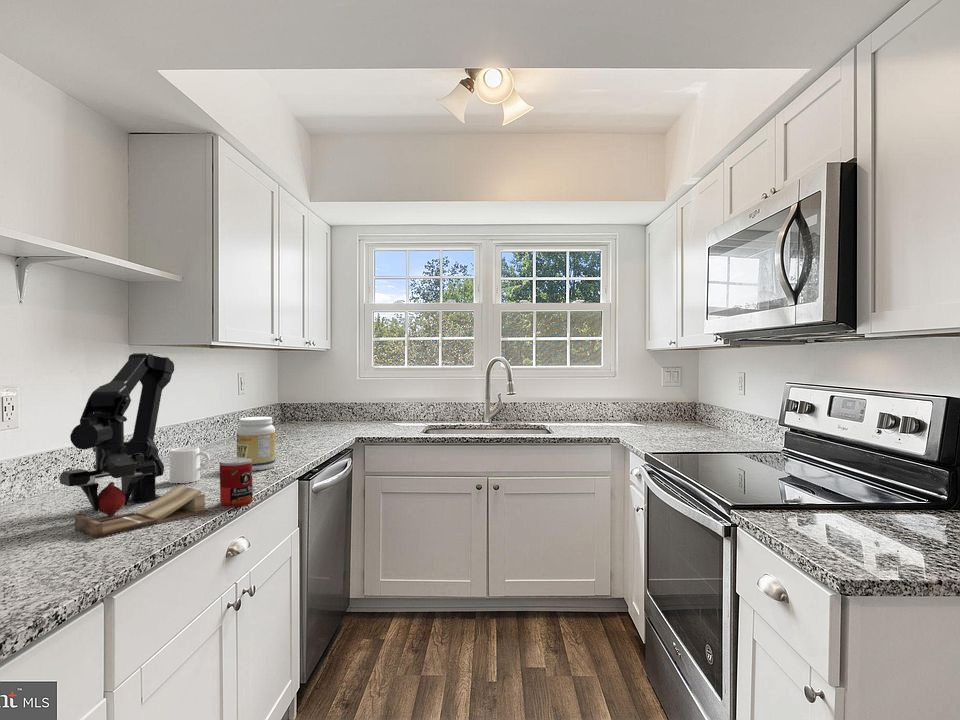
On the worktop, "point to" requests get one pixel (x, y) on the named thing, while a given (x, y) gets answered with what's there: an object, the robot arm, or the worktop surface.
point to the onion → (111, 499)
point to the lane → (124, 522)
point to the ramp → (174, 502)
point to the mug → (186, 464)
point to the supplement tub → (257, 442)
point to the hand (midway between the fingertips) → (110, 508)
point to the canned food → (236, 482)
